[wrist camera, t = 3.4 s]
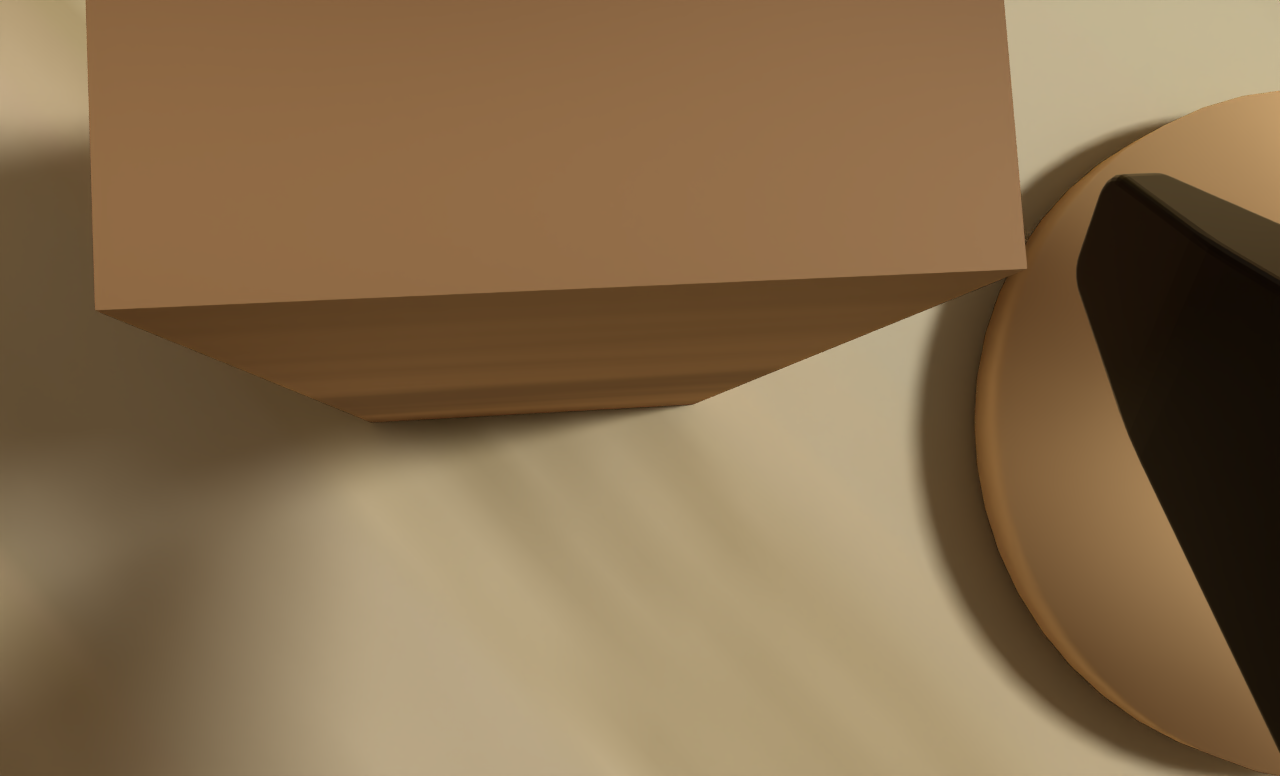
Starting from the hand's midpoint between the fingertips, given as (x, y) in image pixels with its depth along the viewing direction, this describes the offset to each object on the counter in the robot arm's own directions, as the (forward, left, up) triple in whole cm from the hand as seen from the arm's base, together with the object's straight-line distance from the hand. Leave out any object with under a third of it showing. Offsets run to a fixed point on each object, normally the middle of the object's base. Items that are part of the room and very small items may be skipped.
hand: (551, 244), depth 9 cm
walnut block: (+2, +1, -9) cm, 9 cm away
